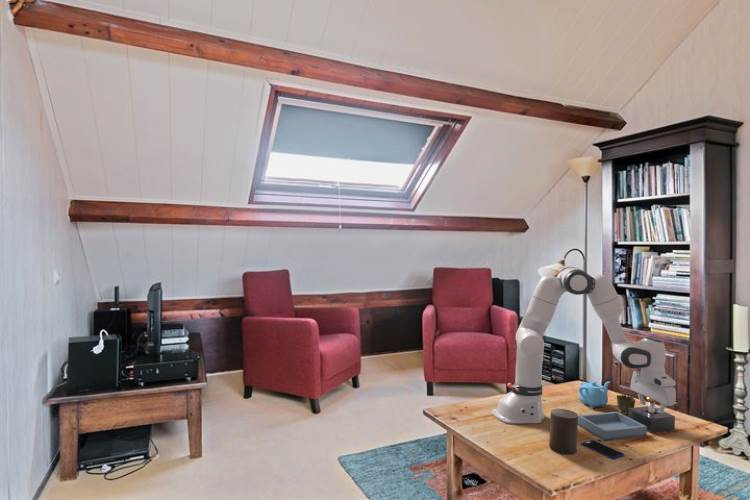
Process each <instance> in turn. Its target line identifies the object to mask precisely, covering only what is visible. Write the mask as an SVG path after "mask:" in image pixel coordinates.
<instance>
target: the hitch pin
mask: <svg viewBox="0 0 750 500" xmlns="http://www.w3.org/2000/svg"><path fill="white" fill-rule="evenodd" d="M645 397H646V396H645ZM645 401H646V402H648V403H647V404H648V405H647V406H648V413H649V414H655V408H656V403H657V402H658V401H655V400H653V399H651V398H648V397H646V399H645Z"/></svg>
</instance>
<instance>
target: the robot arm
mask: <svg viewBox="0 0 750 500" xmlns="http://www.w3.org/2000/svg"><path fill="white" fill-rule="evenodd" d="M565 293H570V294H572V295H576V296H577V295H578V296H579V295H580V296H581V295H587V297H588V299H589V301H590V304H591V306H592V308H593V310H594V311H595V313H596V315H597V316H598V317H599V319H600V320H601V322H602V324H603V325H604V328H605V330H606V333H607V335H608V337H609V341H610V353H611V355H612V358H614V359H615V360H616V361H618V362H619V363H620V364H622V365H623V366H625V367H626V368H629V369H636V370H634V371H633V372H632V377H631V381H630V389H631V391H632V392H634V393H636V394H637V398H638V399H639V404H640V405H641V406H642V405H643V406H646V402H647V400H646V399H644V397H648V398H651V399H653V400H655V401H657V402H658V403H659V405H660V406H659V407H657V409H658V412H659V413H664V412H665V409H666V407H667V406H674V405H675V404H676V403H677V392H676V391H677V390H676V388H675V386H677V385H676V383H677V382H676V380H674V379H673V378H672V377H671V376H669V375H668V374H667V373H666V368H665V363H666V358H667V357H666V346H665V343H664V342H663V341H662V340H660V339H658V338H655V337H652V336H645V337H643V338H642V339H640V340H638V341H635V342H633V343H632V341H630V340H629V339H628V338H627V337H626V335H625V332H624V330H623V327H622V324H621V322H620V316H621V315H622V313H623V305H622V301H621V299H620V297H619V294H618V292H617V291H616V288H615V287H614V285H613V284H612V282H611V280H609V278H608V276H606V275H604V274H595V275H590V274H589V273H587V272H586V271H584V270H582V268H579V267H574V266H567V267H565V268H563V269H561V270H560V271H559V272H558V273H556V274H555V275H550V274H549V275H545V276H544V275H543V276H542V277H541V278H540V279H539V281H538V283H537V284H536V287H535V289H534V291H533V293H532V296H531V298H530V301H529V304H528V305H527V309H526V311H525V313H524V316H523V318H522V319H521V322H520V324H519V326H518V328H517V330H516V332H515V341H516V346H517V347H516V360H515V361H516V362H515V381H514V382H513V383H514V384H513V383H511V382H508V383H507V384H506V386H507V387H508V388H509V389H511V390H510V391H509V392H508V393H507V394H506V395H504V396H503V397H501V398H500V400H498V404H497V408H494V409H492V415H493V416H494V417H495V418H496V419H497V420H499V421H500V422H503V423H506V424H541V423H542V422H543V420H544V419H545V414H544V410H543V408H544V407H543V401H542V400H543V399H542V397H543V385H542V377H543V375H542V373H543V370H542V369H543V362H544V361H543V360H544V352H545V351H544V350H545V340H544V338H543V337H544V335H545V333H546V330H547V328H548V326H549V325H550V323H551V322H552V321H553V318H554V314H555V312H556V309H557V307H558V305H559V302H560V299H561V297H562V296H563V294H565ZM637 369H640V370H637Z"/></svg>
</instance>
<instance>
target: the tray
mask: <svg viewBox="0 0 750 500" xmlns="http://www.w3.org/2000/svg"><path fill="white" fill-rule="evenodd" d="M578 427H581V428H582V429H584V430H585V431H587V432H588V433H590V434H592V435H594V436H595V437H597V438H598V439H599V440H602V441H603V442H607V441H608V442H609V441H619V440H626V439H627V440H628V439H636V438H642V437H644V438H645V437H647V436H648V435H647V434H648V432H647V426H645V425H643V424H641V423H639V422H637V421H635V420H633V419H631V418H629V417H628V416H625V415H623V414H621V412H619V411H611V412H601V413H600V412H599V413H590V414H578Z"/></svg>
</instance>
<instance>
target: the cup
mask: <svg viewBox="0 0 750 500" xmlns="http://www.w3.org/2000/svg"><path fill="white" fill-rule="evenodd" d="M616 402H617V404H616V405H617V408H618V409H619V410H620V413H621V414H623V415H625V416H627V417H628V411H629V408H635V404H636V398H635V397H633V395H626V394H617V395H616Z"/></svg>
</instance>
